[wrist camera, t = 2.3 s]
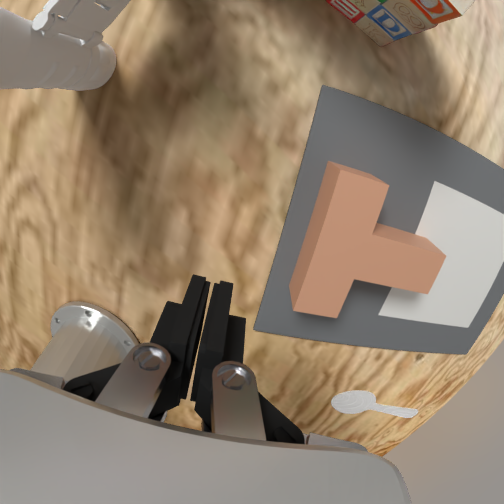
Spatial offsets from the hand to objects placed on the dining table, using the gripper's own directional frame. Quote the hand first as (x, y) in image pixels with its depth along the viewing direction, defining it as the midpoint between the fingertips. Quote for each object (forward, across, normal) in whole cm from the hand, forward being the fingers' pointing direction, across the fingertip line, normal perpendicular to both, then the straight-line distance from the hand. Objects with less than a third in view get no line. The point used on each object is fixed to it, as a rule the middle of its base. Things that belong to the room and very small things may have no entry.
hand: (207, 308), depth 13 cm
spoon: (+15, -26, +25) cm, 39 cm away
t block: (+15, -12, +1) cm, 19 cm away
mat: (+15, -20, +1) cm, 25 cm away
